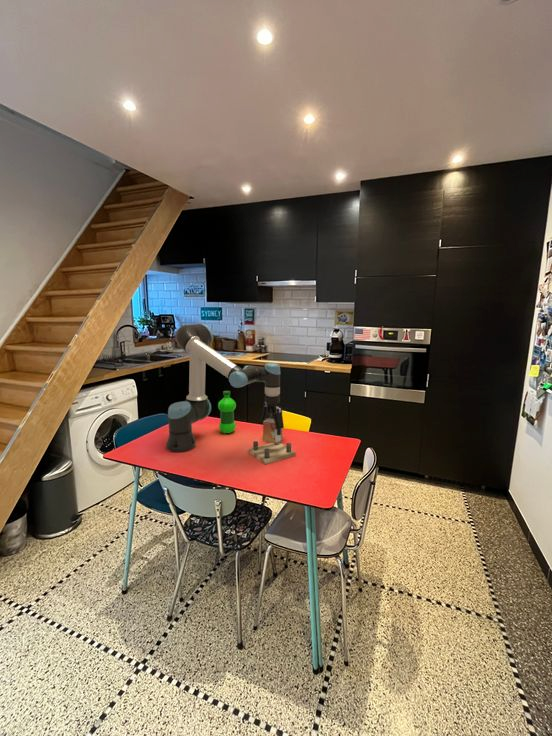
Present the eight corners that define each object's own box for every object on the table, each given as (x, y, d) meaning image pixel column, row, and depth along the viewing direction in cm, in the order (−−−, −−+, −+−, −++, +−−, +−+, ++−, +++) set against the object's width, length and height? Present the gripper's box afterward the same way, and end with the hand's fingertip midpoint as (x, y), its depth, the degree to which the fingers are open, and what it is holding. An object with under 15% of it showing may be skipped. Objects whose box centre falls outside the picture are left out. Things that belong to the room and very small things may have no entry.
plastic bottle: (215, 432, 201) (214, 391, 197) (229, 427, 208) (229, 388, 204) (224, 436, 194) (224, 394, 190) (239, 432, 201) (239, 391, 197)
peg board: (249, 452, 173) (248, 441, 172) (277, 445, 183) (278, 434, 182) (265, 464, 160) (265, 452, 159) (295, 455, 170) (295, 444, 169)
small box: (262, 441, 169) (262, 421, 167) (267, 437, 174) (267, 417, 172) (277, 443, 166) (277, 423, 164) (281, 439, 171) (281, 419, 170)
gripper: (291, 398, 159) (291, 443, 163) (267, 389, 177) (266, 429, 181) (278, 400, 155) (278, 446, 159) (254, 390, 173) (254, 432, 177)
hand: (272, 437), depth 170 cm, fingers closed on small box, 9 cm apart
